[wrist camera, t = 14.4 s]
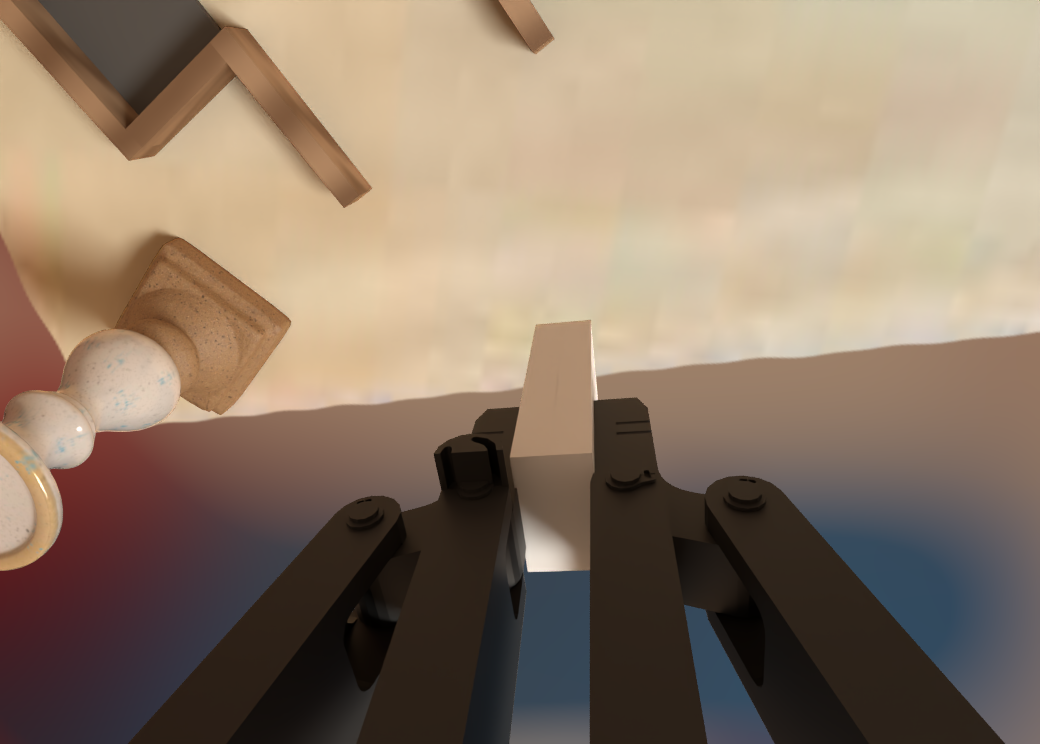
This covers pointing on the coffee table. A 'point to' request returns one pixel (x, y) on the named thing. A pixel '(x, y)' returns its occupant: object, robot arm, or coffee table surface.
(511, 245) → the coffee table surface
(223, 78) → the track
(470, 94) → the coffee table surface
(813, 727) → the robot arm
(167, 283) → the candle holder
